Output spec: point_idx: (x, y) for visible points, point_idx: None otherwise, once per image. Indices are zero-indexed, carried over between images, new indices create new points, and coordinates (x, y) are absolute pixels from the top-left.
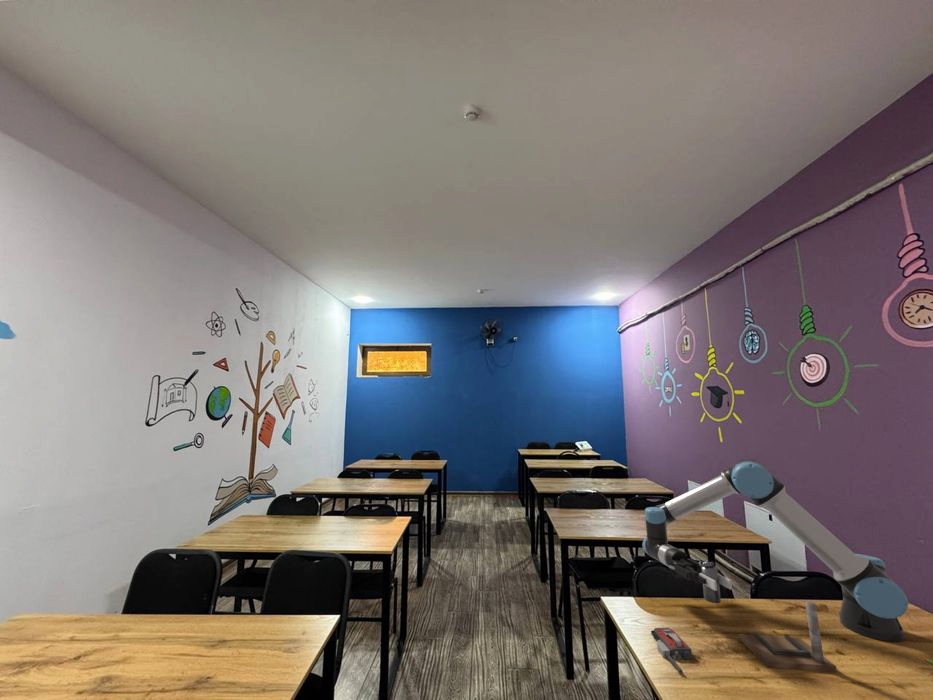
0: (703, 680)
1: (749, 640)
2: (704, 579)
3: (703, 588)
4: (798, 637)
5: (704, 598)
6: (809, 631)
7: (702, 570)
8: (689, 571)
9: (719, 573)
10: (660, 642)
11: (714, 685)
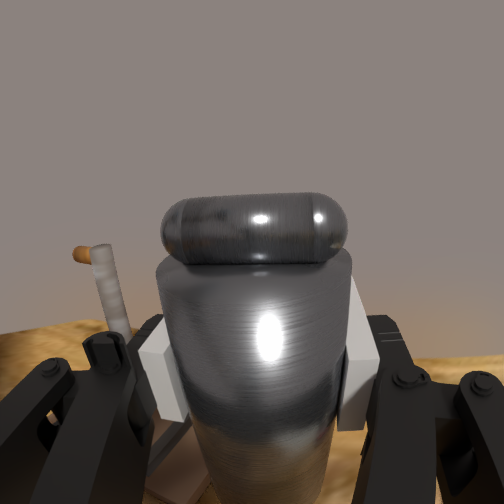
0: (452, 381)
1: (191, 470)
2: (376, 317)
3: (324, 461)
4: (49, 418)
5: (317, 497)
6: (121, 319)
7: (349, 302)
8: (478, 414)
9: (82, 372)
10: None
11: (436, 371)
